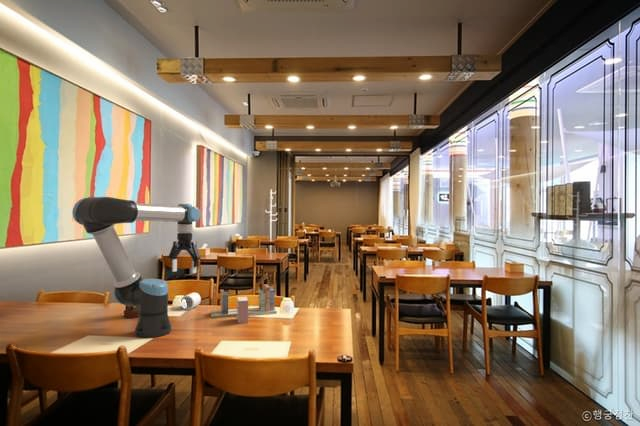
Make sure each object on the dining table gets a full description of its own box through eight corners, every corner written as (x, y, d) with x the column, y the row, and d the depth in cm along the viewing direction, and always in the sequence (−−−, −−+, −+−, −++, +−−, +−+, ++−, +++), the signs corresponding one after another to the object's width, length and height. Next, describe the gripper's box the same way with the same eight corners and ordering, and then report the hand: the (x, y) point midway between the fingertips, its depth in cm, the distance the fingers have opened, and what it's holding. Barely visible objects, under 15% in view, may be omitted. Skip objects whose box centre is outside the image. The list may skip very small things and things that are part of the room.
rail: (276, 313, 203) (276, 287, 203) (211, 318, 193) (211, 290, 194) (273, 308, 214) (273, 283, 214) (211, 312, 204) (211, 286, 204)
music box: (137, 319, 189) (134, 280, 190) (117, 320, 191) (114, 281, 191) (154, 312, 204) (151, 275, 205) (135, 313, 206) (133, 276, 206)
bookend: (228, 313, 197) (228, 294, 197) (222, 314, 196) (222, 295, 196) (227, 309, 205) (227, 291, 206) (221, 310, 205) (221, 291, 205)
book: (247, 322, 185) (248, 300, 185) (238, 323, 184) (238, 301, 184) (246, 318, 194) (246, 296, 194) (237, 318, 192) (237, 297, 192)
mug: (201, 306, 220) (201, 292, 220) (193, 310, 210) (193, 296, 210) (181, 305, 221) (181, 291, 221) (173, 309, 211) (173, 295, 211)
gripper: (208, 232, 200) (207, 272, 200) (172, 231, 210) (171, 270, 210) (198, 233, 193) (197, 274, 193) (161, 232, 203) (161, 271, 203)
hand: (184, 272), depth 201 cm, fingers open, 13 cm apart
